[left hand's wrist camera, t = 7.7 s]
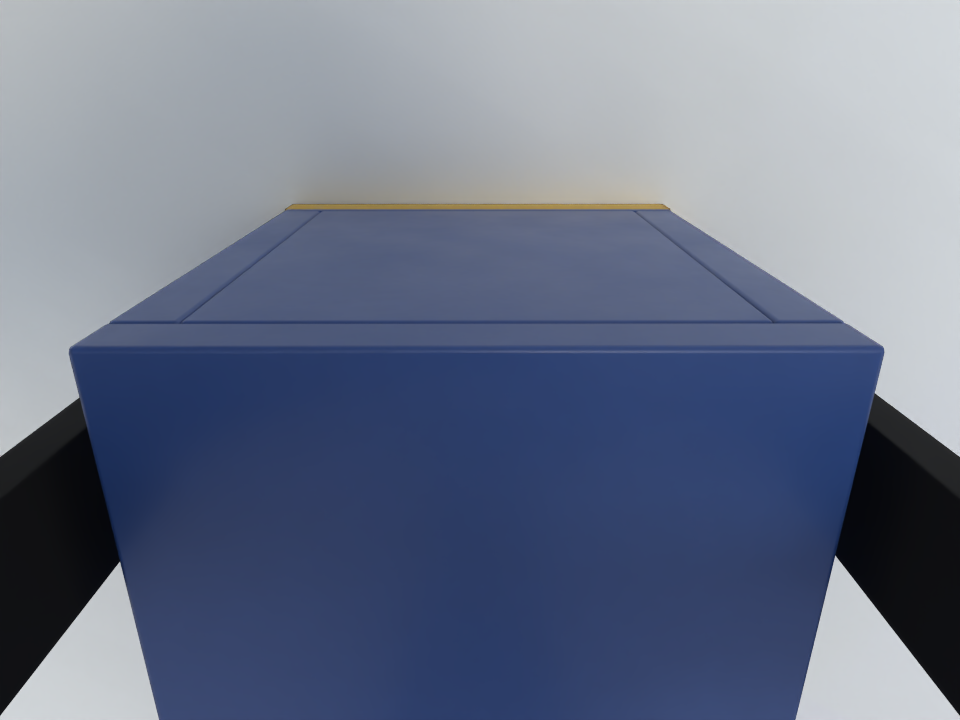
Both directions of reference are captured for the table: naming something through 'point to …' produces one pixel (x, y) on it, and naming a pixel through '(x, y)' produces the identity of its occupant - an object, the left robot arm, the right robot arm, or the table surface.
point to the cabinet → (476, 468)
